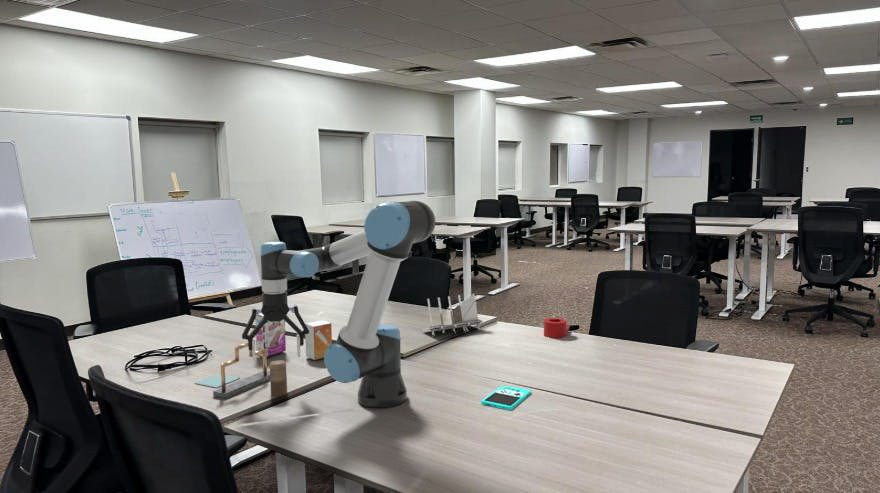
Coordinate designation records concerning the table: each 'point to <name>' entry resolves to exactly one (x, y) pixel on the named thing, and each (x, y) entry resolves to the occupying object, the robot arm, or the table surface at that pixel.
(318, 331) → the small box
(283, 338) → the candy bar box
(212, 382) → the mat
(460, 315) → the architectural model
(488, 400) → the handheld game console
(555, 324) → the red saucepan
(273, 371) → the walnut peg
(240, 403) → the table surface
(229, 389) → the wire frame
